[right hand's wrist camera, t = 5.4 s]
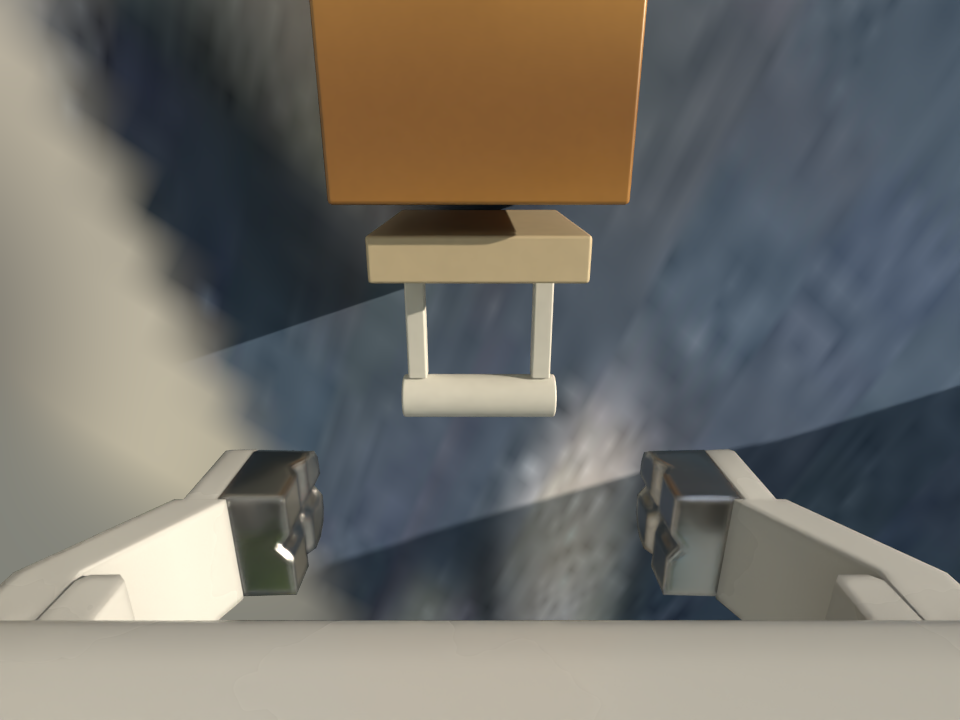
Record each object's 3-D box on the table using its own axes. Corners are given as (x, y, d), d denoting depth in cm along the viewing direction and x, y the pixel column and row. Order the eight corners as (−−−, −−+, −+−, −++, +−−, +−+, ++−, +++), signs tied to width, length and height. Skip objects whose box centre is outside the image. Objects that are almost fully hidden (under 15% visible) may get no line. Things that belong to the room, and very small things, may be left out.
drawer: (549, 375, 22) (577, 464, 16) (409, 375, 22) (380, 464, 16) (590, -512, 14) (682, -1074, 8) (367, -511, 14) (272, -1074, 8)
